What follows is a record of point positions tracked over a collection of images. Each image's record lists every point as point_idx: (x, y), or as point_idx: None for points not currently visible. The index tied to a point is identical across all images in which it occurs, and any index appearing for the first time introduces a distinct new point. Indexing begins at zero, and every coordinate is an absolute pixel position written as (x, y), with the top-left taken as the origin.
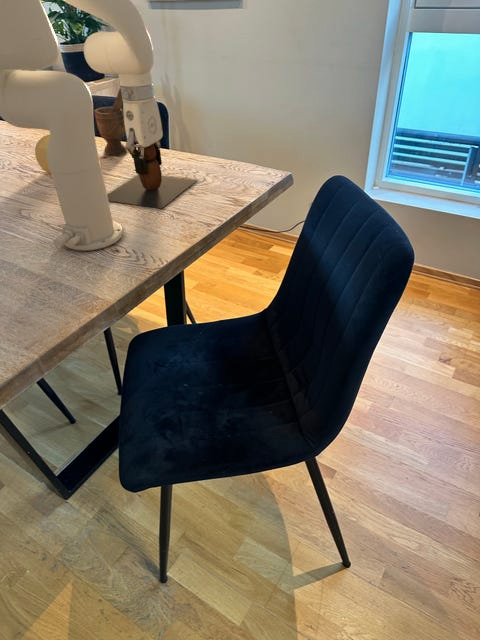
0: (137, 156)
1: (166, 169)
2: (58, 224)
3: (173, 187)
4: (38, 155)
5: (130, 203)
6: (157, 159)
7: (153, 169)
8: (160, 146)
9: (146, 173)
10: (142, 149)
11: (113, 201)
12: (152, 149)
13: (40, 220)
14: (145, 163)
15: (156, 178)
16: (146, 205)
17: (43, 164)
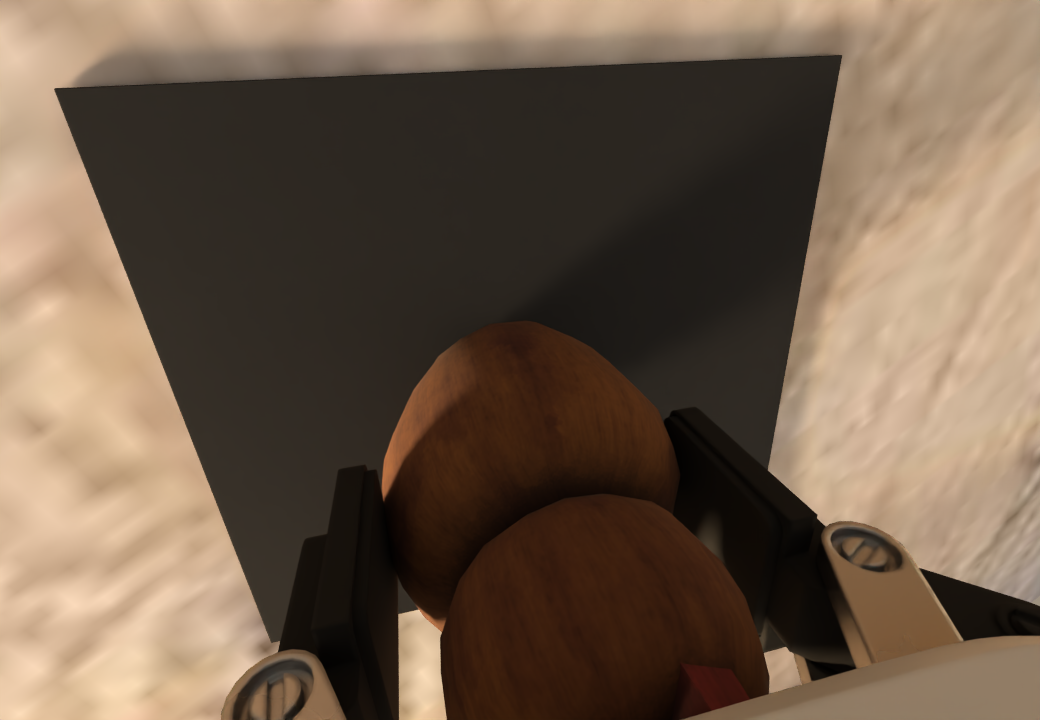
0: (940, 575)
1: (20, 569)
2: (1019, 481)
3: (396, 229)
4: None
5: (785, 343)
6: (378, 534)
7: (634, 390)
8: (236, 694)
9: (697, 409)
10: (928, 647)
11: (769, 454)
12: (668, 604)
13: (976, 564)
14: (760, 472)
15: (574, 340)
16: (804, 215)
17: None
